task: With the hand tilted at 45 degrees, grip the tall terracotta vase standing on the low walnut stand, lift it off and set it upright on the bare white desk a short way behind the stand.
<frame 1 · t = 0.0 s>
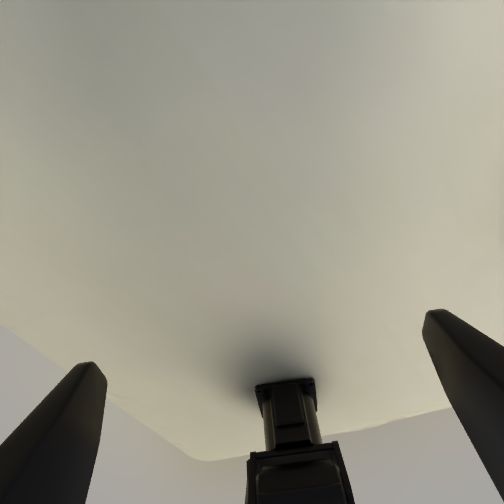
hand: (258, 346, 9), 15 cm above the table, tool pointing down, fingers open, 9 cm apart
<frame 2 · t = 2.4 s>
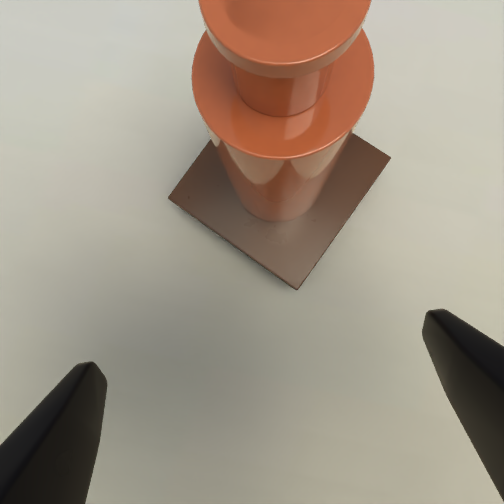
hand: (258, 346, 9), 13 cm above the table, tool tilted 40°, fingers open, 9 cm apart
stand: (277, 189, 23), on the table
vase: (277, 177, 20), point 2 cm above the table, touching stand
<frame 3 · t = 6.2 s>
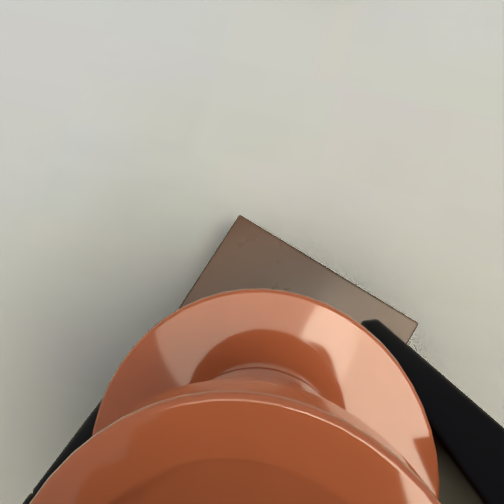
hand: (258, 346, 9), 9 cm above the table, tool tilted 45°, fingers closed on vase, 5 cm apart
stand: (271, 348, 18), on the table
vase: (270, 355, 16), point 3 cm above the table, touching gripper, stand
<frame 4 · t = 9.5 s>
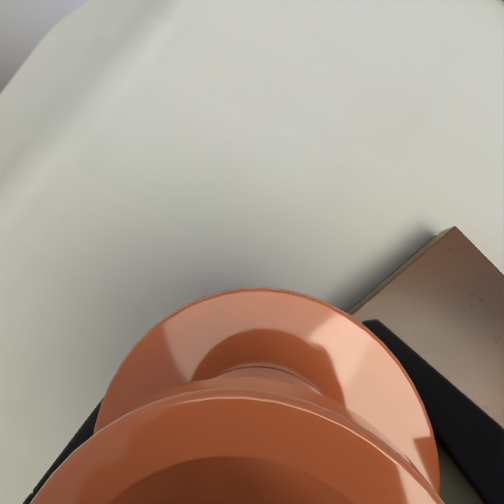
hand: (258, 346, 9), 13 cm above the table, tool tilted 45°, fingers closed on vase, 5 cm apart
stand: (433, 341, 21), on the table
vase: (270, 355, 16), point 6 cm above the table, touching gripper
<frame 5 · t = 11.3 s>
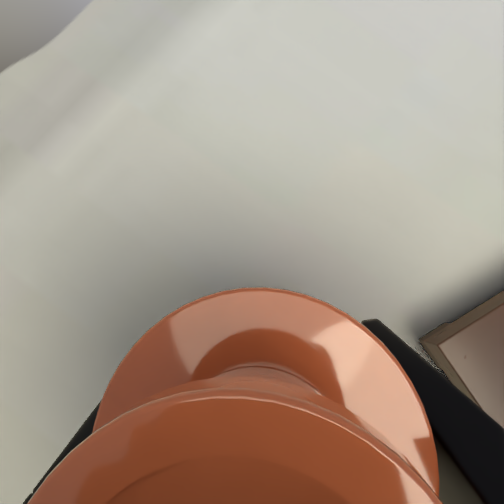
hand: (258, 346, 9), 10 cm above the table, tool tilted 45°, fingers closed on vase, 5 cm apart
vase: (270, 355, 16), point 3 cm above the table, touching gripper
when the fingers open (7 cm above the table, at t = 12.8 s): vase stays where it is, on the table.
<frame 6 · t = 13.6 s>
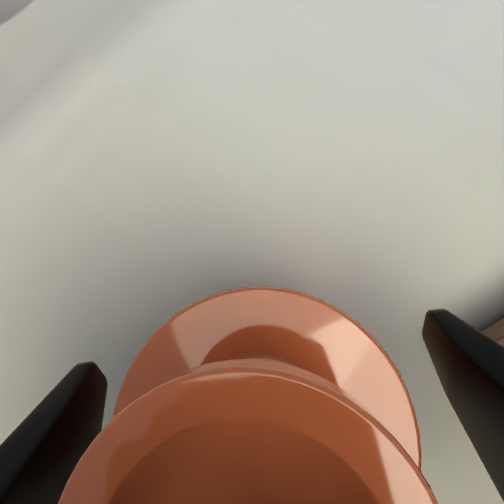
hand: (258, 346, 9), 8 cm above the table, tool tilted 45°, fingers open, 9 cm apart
vase: (270, 352, 16), on the table
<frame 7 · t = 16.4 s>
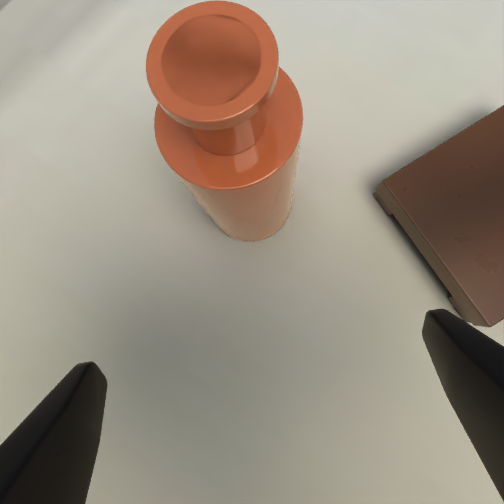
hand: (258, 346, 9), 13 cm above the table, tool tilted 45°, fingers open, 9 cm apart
stand: (481, 215, 21), on the table
vase: (250, 201, 23), on the table
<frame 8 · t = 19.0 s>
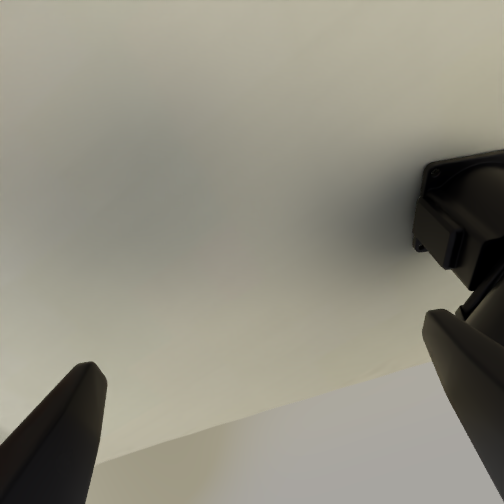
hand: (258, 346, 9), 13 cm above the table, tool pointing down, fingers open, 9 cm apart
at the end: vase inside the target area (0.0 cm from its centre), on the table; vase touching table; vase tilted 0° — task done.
